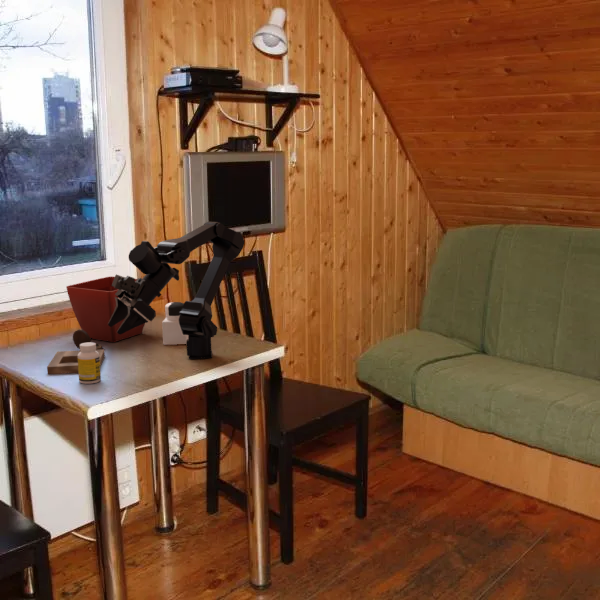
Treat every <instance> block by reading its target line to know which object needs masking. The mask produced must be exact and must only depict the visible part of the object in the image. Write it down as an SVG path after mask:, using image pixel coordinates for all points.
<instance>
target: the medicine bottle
mask: <svg viewBox="0 0 600 600" xmlns="http://www.w3.org/2000/svg"><path fill="white" fill-rule="evenodd" d="M184 303H185V302H181V301H173V302H168V303H165V305H164V310H165V311H164V312H165V318H164V319H163V320H162V322H161V327H162V329H161V330H162V345H165V346H177V344H186V341H187V339H188V335H183V333H182V330H181V327H180V324H179V316H180V314H179V312H180V311H181V310H182V308H183V305H184ZM186 345H187V344H186Z"/></svg>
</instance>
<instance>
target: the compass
mask: <svg viewBox="0 0 600 600" xmlns="http://www.w3.org/2000/svg"><path fill="white" fill-rule="evenodd" d="M72 341H73V343H74V346H75V347H77V349H78V350H80V344H82V343H87V342H92V340H91V338H90V337H89V335H88V334H87V333H86V332H85V331H84V330H82V329H81V328H80V329H77V330H75V331H74V332H73V334H72ZM100 349H104V346H103V345H102V344H100V343H96V350H100Z"/></svg>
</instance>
